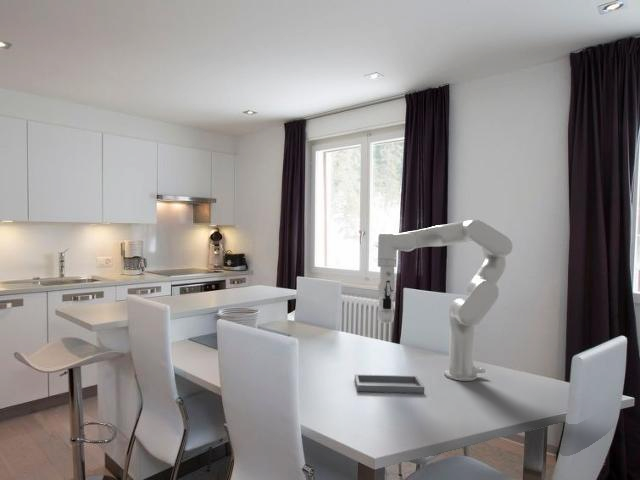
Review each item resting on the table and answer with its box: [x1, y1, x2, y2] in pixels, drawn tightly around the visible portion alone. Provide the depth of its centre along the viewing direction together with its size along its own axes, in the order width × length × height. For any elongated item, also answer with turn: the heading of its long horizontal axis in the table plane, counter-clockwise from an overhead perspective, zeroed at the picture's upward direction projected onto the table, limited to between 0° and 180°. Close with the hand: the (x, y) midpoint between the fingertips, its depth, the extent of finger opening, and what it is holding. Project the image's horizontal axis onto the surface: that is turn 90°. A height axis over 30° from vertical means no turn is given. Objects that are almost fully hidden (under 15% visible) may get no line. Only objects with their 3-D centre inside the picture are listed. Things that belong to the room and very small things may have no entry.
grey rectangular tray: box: [354, 373, 425, 395], centre depth 164 cm, size 24×12×3 cm, turn 91°
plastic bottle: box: [377, 281, 395, 324], centre depth 179 cm, size 6×7×20 cm
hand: (385, 307), depth 179 cm, fingers closed on plastic bottle, 5 cm apart
